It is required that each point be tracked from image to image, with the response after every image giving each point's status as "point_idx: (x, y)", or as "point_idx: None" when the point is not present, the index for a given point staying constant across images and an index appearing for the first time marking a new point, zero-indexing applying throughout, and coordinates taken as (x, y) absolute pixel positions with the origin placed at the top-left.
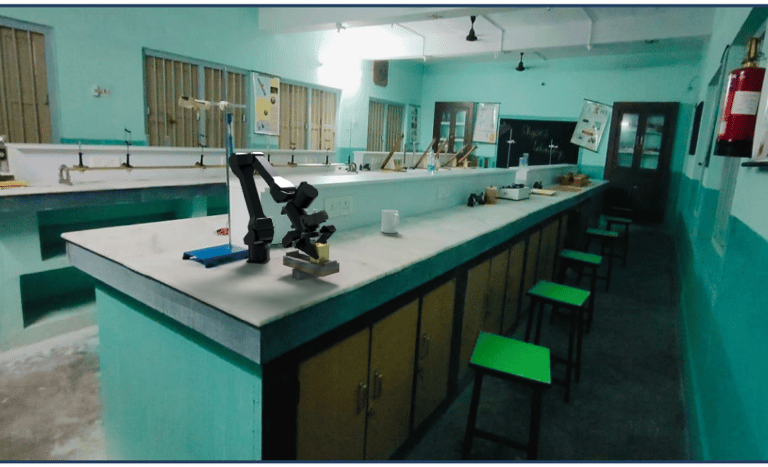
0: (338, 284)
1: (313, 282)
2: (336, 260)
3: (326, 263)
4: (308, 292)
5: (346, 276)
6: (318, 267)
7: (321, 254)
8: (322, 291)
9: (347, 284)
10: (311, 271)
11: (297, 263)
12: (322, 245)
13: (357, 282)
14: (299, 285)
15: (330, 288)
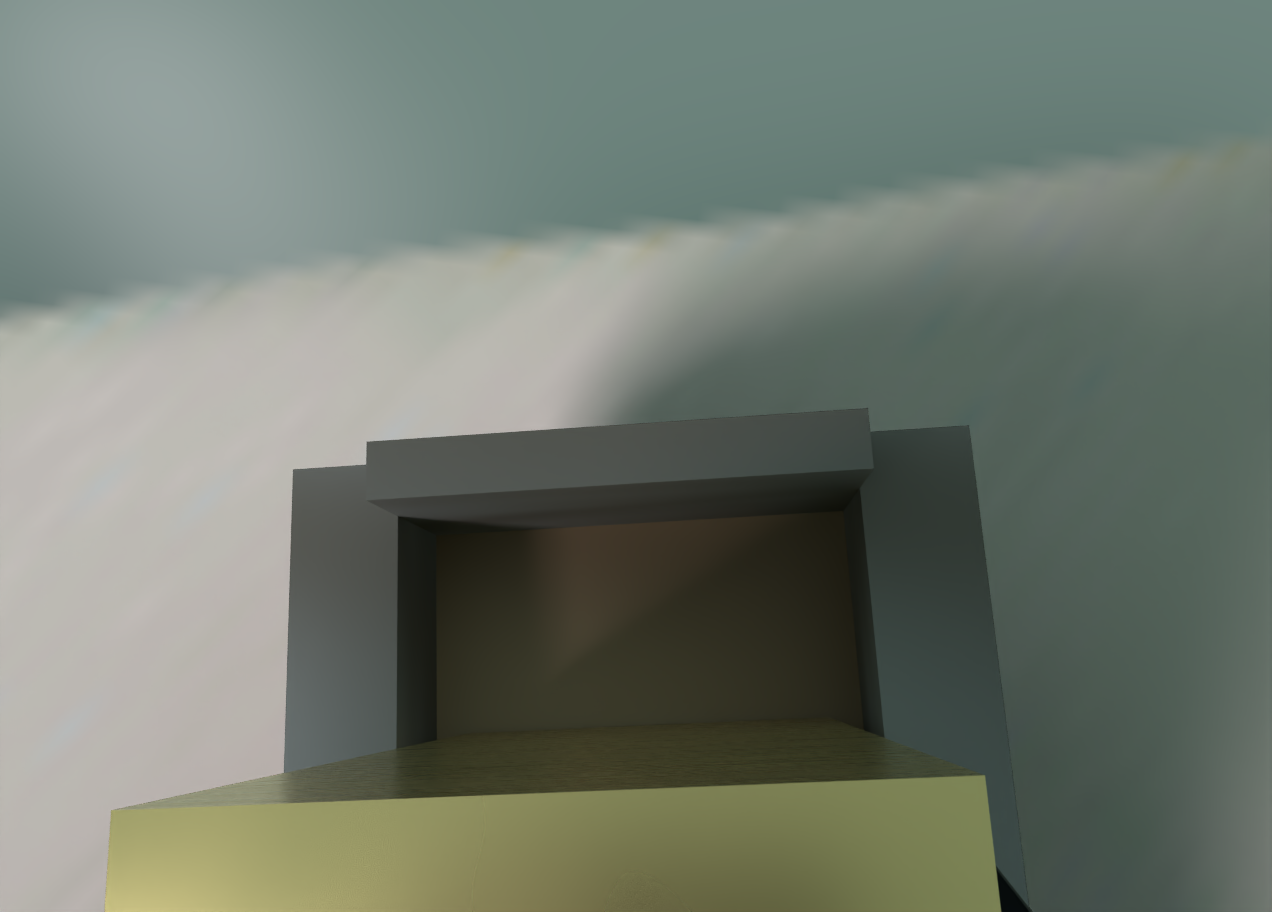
0: (565, 427)
1: None
2: (374, 449)
3: (808, 414)
4: (1259, 437)
5: (122, 677)
6: (980, 574)
7: (757, 750)
8: (1024, 326)
9: (452, 331)
10: None
11: None
12: (619, 890)
13: (254, 303)
14: (1179, 868)
15: (815, 356)
